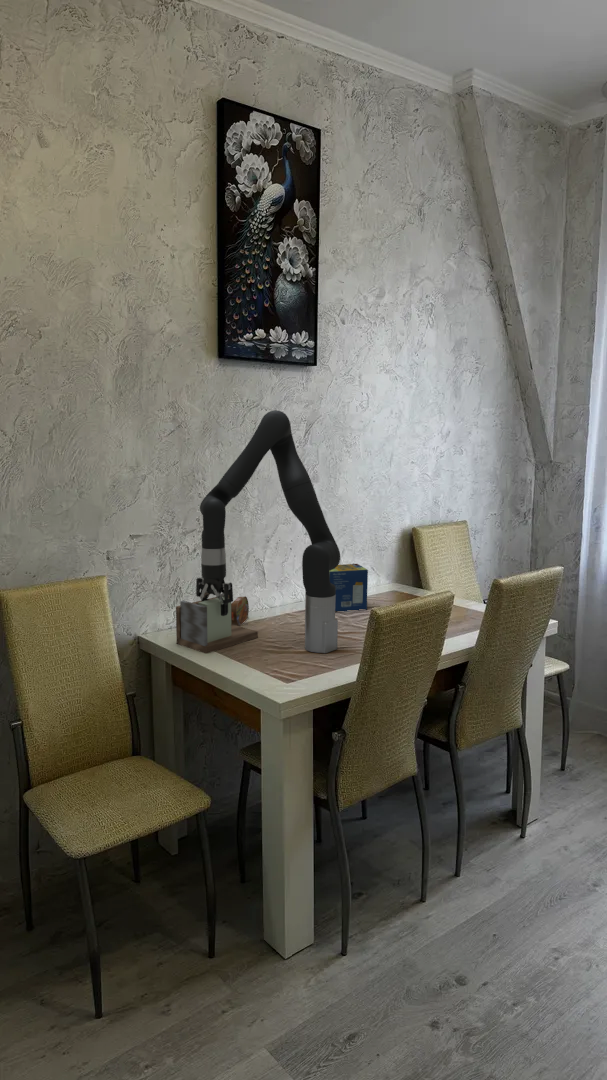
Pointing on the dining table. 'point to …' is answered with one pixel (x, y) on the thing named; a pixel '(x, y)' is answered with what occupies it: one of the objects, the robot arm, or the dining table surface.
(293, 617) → the dining table surface
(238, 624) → the tin
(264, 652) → the dining table surface
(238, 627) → the bookshelf
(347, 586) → the protein box
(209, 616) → the sage green tall block
